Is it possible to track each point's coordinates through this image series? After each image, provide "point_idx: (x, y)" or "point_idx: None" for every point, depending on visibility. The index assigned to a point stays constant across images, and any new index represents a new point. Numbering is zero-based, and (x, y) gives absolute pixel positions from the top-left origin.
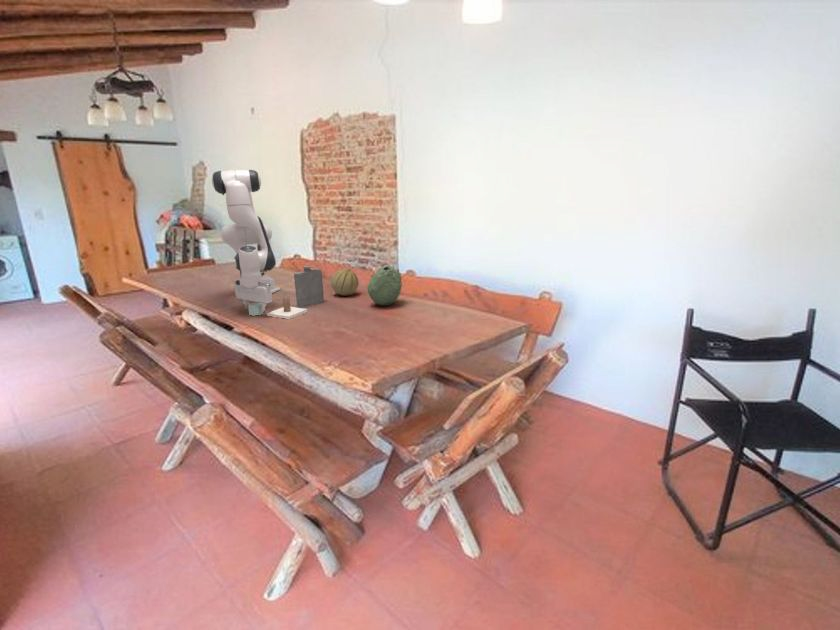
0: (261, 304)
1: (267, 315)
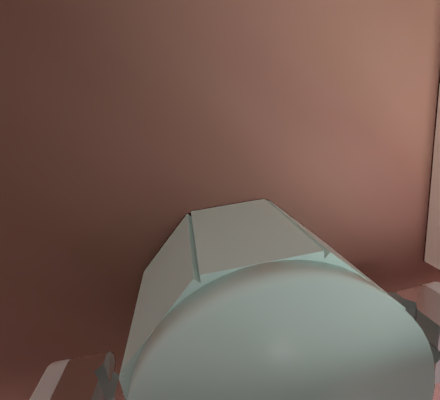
0: (427, 351)
1: (432, 265)
